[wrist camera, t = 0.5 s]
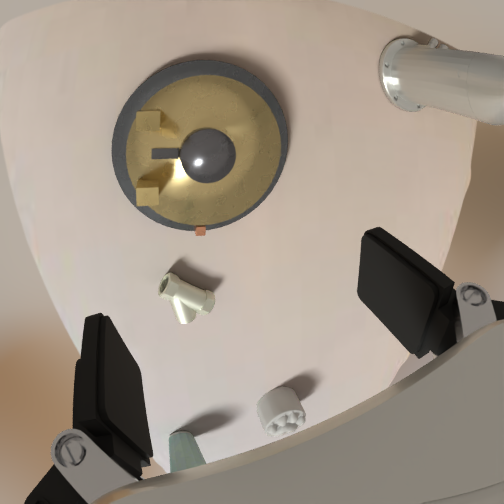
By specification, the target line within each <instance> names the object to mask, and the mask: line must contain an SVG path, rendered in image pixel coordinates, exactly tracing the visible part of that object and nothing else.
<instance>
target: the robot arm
mask: <svg viewBox="0 0 504 504" xmlns="http://www.w3.org/2000/svg"><path fill="white" fill-rule="evenodd" d="M437 45H438V41H437V40H436V39H435V38H431V40H430V41H429V43H428V45H420V44H419V43H418V42H416V41H414V40H411V39H403V38H401V39H396V40H393V41H391V42H390V43H389V44H388V45H387V46H386V47H385V49H384V50H383V53H382V55H381V59H380V64H379V74H380V80H381V84H382V87H383V90H384V92H385V94H386V96H387V97H388V99H389V100H390V101H391V102H392V103H393V104H394V105H395V106H396V107H398V108H399V109H402V110H405V111H410V112H416V111H419V110H421V109H423V108H424V107H425V106H428V107H432V108H436V109H440V110H444V111H448V112H451V113H455V114H458V115H462V116H465V117H469V118H472V119H475V120H478V121H481V122H485V123H488V124H492V125H503V124H504V56H501V55H493V54H487V53H479V52H472V51H463V50H452V49H449V48H448V47H447V46H446V45H444V44H440V46H439V47H438V48H436V46H437ZM454 283H455V282H454V281H452V280H451V279H450V278H449V277H447V276H446V275H445V274H443V273H442V272H441V271H440V270H438V269H437V268H436V267H434V266H433V265H432V264H431V263H429V262H428V261H427V260H425V259H424V258H423V257H421V256H420V255H419V254H417V253H416V252H415V251H413V250H412V249H410V248H409V247H408V246H406V245H405V244H404V243H402V242H401V241H399V240H398V239H397V238H395V237H394V236H392V235H391V234H390V233H388V232H387V231H385V230H384V229H382V228H381V227H376V228H373V229H370V230H367V231H366V232H365V233H364V236H363V237H362V240H361V254H360V267H359V278H358V288H357V293H358V296H359V298H360V300H361V301H362V302H363V303H364V304H365V305H366V306H367V307H368V308H369V309H370V310H371V311H372V312H373V313H374V314H375V315H376V317H377V318H378V319H379V320H380V321H381V322H382V323H383V324H384V325H385V326H386V327H387V328H388V329H389V331H390V332H391V333H392V334H393V335H394V336H395V337H396V338H397V339H398V340H399V341H400V343H401V344H402V345H403V346H404V347H405V348H406V349H407V350H408V351H409V352H410V353H411V354H415V355H416V356H417V357H418V358H419V359H420V358H421V357H423V356H424V355H426V354H427V353H429V351H430V350H431V351H432V352H433V360H432V361H431V362H429V363H428V364H426V365H425V366H423V367H421V368H420V369H418V370H417V371H415V372H414V373H412V374H410V375H409V376H407V377H406V378H404V379H402V380H401V381H399V382H397V383H396V384H394V385H392V386H391V387H389V388H387V389H385V390H384V391H382V392H380V393H378V394H377V395H375V396H373V397H371V398H369V399H367V400H366V401H364V402H362V403H360V404H358V405H356V406H354V407H352V408H350V409H348V410H346V411H344V412H342V413H340V414H338V415H336V416H334V417H332V418H330V419H328V420H325V421H323V422H321V423H319V424H317V425H314V426H312V427H310V428H307V429H305V430H303V431H300V432H298V433H296V434H293V435H291V436H288V437H286V438H283V439H281V440H278V441H275V442H273V443H270V444H267V445H265V446H262V447H259V448H256V449H253V450H250V451H247V452H244V453H241V454H238V455H235V456H232V457H228V458H225V459H222V460H218V461H215V462H211V463H208V464H204V465H201V466H197V467H193V468H189V469H185V470H181V471H177V472H173V473H168V474H165V475H160V476H156V477H152V478H148V479H144V478H143V477H141V475H142V468H141V467H146V466H150V465H151V464H150V459H149V458H150V457H153V450H152V445H151V439H150V433H149V427H148V421H147V415H146V408H145V401H144V393H143V385H142V377H141V371H140V368H139V366H138V364H137V363H136V361H135V360H134V358H133V356H132V355H131V353H130V351H129V350H128V348H127V347H126V345H125V343H124V342H123V340H122V338H121V336H120V335H119V333H118V331H117V330H116V328H115V326H114V324H113V322H112V321H111V319H110V317H109V316H104V315H103V314H102V313H98V314H95V315H91V316H88V317H86V318H85V323H84V331H83V339H82V349H81V359H78V360H77V362H76V368H75V380H74V396H73V397H74V398H73V429H68V430H65V431H62V432H61V433H60V434H58V435H57V437H56V438H55V439H54V441H53V444H52V446H51V456H52V460H53V462H54V465H53V466H52V467H51V469H50V470H49V471H48V472H47V474H46V475H45V476H44V477H43V478H42V480H41V481H40V482H39V483H38V485H37V486H36V487H35V488H34V490H33V491H32V492H31V493H30V495H29V496H28V497H27V499H26V500H25V503H24V504H504V302H502V301H494V300H491V299H490V296H489V294H488V292H487V291H486V290H485V289H484V288H483V287H481V286H480V285H478V284H475V283H470V282H469V283H468V282H467V283H462V284H460V285H459V286H458V287H457V290H455V289H453V286H454Z"/></svg>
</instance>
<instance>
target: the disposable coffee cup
mask: <svg viewBox="0 0 504 504" xmlns="http://www.w3.org/2000/svg"><path fill="white" fill-rule="evenodd" d="M169 454H170V471H171V473H173V472H177V471H181V470H185V469H189V468H193V467H197V466H201V465H204V464H206V462H205V460H204V458H203V456H202V454H201V451H200V449H199V447H198V445H197V443H196V441H195V438H194V436H193V435H192V434H191V433H190V432H187V431H178V432H175V433H173V434H171V435H170V438H169Z"/></svg>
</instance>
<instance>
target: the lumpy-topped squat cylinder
mask: <svg viewBox="0 0 504 504" xmlns="http://www.w3.org/2000/svg"><path fill="white" fill-rule="evenodd" d="M257 413H258V416H259V419H260V421H261V424H262V426H263V429H264V431H265V434H266V435H267V436H281V435H284V434H288V433H292V432H294V431H295V430H296V429H297V428H299V427H300V426H301V425H303V424H304V423H305V415H306V414H305V411H304V409H303V407H302V405H301V403H300V401H299V399H298V397H297V395H296V393H295V391H294V390H293V389H291V388H289V387H278V388H275V389H273V390H271V391H269V392H268V393H266V394H265V395H264V396H263V397H262V398H261V399H260V400H259V401H258V403H257Z"/></svg>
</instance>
